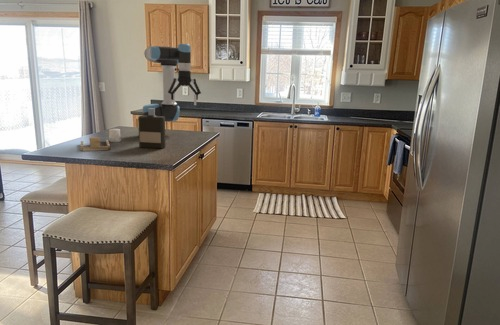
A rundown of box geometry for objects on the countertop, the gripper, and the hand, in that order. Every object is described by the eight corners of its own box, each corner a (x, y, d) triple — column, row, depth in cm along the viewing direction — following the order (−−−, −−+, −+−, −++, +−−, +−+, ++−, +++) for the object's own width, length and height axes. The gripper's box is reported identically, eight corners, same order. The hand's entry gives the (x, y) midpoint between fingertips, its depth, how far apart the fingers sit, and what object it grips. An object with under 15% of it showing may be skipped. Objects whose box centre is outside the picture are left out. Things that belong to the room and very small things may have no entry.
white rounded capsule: (109, 140, 247) (108, 128, 245) (120, 139, 250) (119, 128, 248) (110, 142, 241) (109, 130, 239) (121, 141, 244) (120, 130, 242)
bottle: (142, 145, 236) (141, 107, 229) (166, 146, 235) (165, 108, 229) (138, 148, 228) (136, 108, 222) (163, 149, 228) (162, 109, 221)
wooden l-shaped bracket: (81, 144, 231) (80, 141, 230) (108, 143, 238) (108, 140, 237) (80, 151, 213) (80, 147, 213) (110, 149, 220) (110, 146, 219)
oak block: (89, 144, 231) (89, 137, 230) (99, 144, 234) (99, 136, 232) (90, 146, 226) (89, 139, 225) (100, 146, 228) (99, 138, 227)
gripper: (165, 69, 212) (165, 105, 217) (205, 71, 222) (205, 105, 227) (162, 69, 218) (163, 104, 224) (202, 71, 228) (202, 104, 234)
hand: (184, 105), depth 226 cm, fingers open, 13 cm apart
